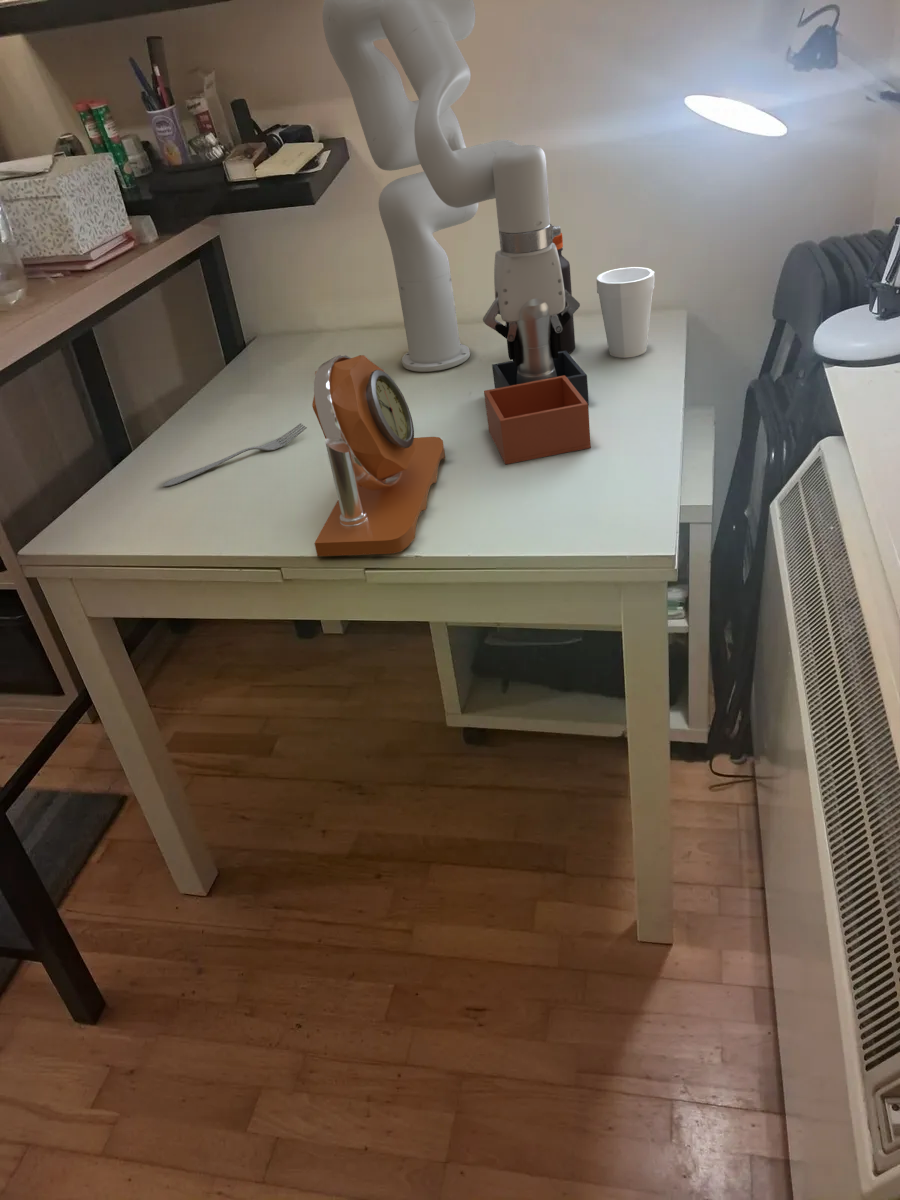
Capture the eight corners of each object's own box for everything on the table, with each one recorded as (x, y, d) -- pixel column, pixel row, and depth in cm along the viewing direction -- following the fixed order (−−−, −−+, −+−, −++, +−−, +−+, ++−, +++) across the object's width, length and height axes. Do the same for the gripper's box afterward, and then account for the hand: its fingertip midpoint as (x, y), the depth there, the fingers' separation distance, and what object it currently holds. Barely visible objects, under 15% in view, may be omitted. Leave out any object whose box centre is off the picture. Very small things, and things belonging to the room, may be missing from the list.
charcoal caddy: (495, 393, 155) (491, 364, 152) (568, 379, 156) (566, 350, 153) (510, 420, 145) (507, 389, 142) (588, 405, 145) (586, 374, 143)
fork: (160, 483, 143) (156, 472, 142) (302, 432, 152) (300, 422, 152) (166, 489, 141) (163, 479, 140) (310, 437, 150) (308, 427, 149)
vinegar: (535, 358, 166) (524, 241, 155) (540, 345, 172) (530, 231, 161) (573, 356, 165) (565, 238, 154) (577, 343, 170) (570, 228, 159)
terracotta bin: (488, 431, 142) (483, 390, 139) (568, 416, 143) (565, 375, 139) (505, 464, 132) (500, 421, 128) (590, 447, 133) (588, 404, 129)
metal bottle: (532, 409, 147) (520, 280, 136) (510, 397, 152) (497, 271, 141) (566, 397, 149) (558, 269, 138) (544, 386, 154) (534, 261, 143)
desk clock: (314, 559, 117) (275, 407, 106) (370, 455, 141) (343, 323, 130) (409, 556, 114) (380, 400, 103) (450, 450, 138) (429, 315, 127)
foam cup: (653, 339, 166) (652, 264, 159) (658, 357, 158) (656, 279, 151) (599, 345, 168) (595, 271, 160) (601, 363, 160) (597, 286, 153)
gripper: (575, 224, 141) (581, 342, 151) (463, 244, 140) (477, 361, 150) (589, 235, 134) (595, 357, 144) (472, 255, 133) (486, 377, 143)
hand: (535, 358), depth 147 cm, fingers closed on metal bottle, 5 cm apart
